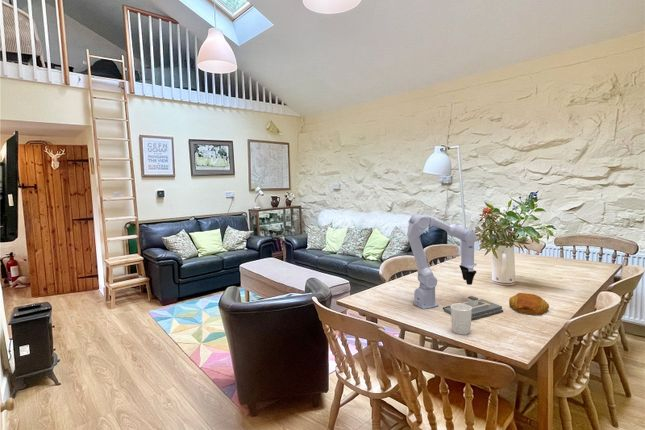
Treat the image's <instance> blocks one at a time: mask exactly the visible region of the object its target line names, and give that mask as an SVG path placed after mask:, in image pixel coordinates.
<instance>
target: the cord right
mask: <svg viewBox="0 0 645 430" xmlns="http://www.w3.org/2000/svg"><path fill="white" fill-rule="evenodd" d="M503 312H504V309H502V310H498V311H494V312H491V313H487V314H483V315H480V316H476V317H472V318H471V322H472V321H475V320H479V319H481V318H485V317H489V316H492V315H495V314H496V315H497V314H500V313H503Z"/></svg>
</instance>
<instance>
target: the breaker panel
mask: <svg viewBox="0 0 645 430" xmlns="http://www.w3.org/2000/svg"><path fill="white" fill-rule="evenodd" d="M460 304H466V305H468V301H464V303H463V302H460ZM499 310H503V305H500V304H497V303H494V302H492V301H488V300H486V299H484V298H482V299H478V306H475V307H472V317H471V318H473V317H477V316H480V315H484V314H488V313H491V312H495V311H499ZM443 312H444V313H446V314H448V315H450V316H451V307H448V308H444V310H443Z"/></svg>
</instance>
